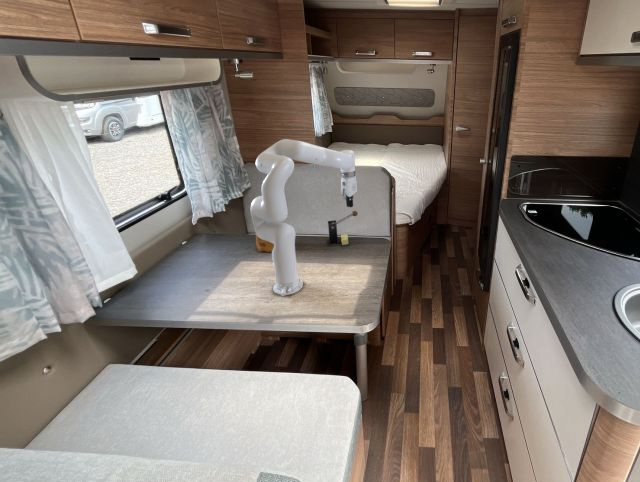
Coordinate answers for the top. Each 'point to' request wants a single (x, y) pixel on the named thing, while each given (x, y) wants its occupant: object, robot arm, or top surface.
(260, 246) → the coffee package
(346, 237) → the butter
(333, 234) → the slicer
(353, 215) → the lever
